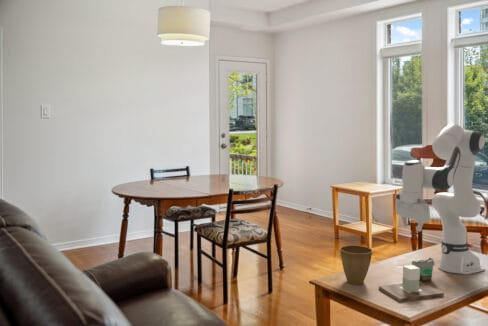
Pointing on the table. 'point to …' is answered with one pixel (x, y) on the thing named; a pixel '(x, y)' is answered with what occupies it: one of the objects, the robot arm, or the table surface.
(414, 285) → the sage green block
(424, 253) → the table surface
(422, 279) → the food container
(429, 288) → the board
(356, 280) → the plant pot
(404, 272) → the cream block
